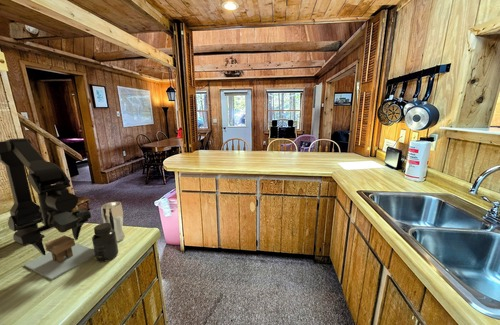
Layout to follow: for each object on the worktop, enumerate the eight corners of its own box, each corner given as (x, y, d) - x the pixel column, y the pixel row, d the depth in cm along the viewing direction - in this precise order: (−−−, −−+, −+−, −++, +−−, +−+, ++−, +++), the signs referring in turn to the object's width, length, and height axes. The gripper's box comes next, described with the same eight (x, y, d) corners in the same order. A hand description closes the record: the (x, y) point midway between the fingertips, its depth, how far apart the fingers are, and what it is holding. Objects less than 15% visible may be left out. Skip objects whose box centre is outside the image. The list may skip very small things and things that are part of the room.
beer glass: (116, 245, 80) (111, 209, 77) (101, 242, 82) (95, 207, 78) (129, 235, 87) (125, 202, 84) (115, 233, 88) (111, 200, 85)
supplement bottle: (105, 249, 78) (100, 220, 75) (122, 250, 77) (118, 221, 75) (90, 262, 71) (85, 230, 68) (109, 263, 71) (105, 231, 68)
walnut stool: (48, 260, 70) (44, 243, 69) (67, 251, 75) (64, 235, 74) (58, 265, 68) (54, 247, 67) (77, 255, 73) (74, 238, 72)
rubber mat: (23, 266, 69) (23, 264, 68) (72, 242, 81) (72, 241, 81) (52, 280, 63) (51, 278, 63) (99, 253, 76) (99, 251, 75)
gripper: (27, 222, 56) (39, 271, 60) (98, 198, 73) (104, 237, 77) (6, 215, 60) (18, 261, 64) (78, 193, 77) (85, 231, 81)
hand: (61, 246), depth 71 cm, fingers open, 9 cm apart
